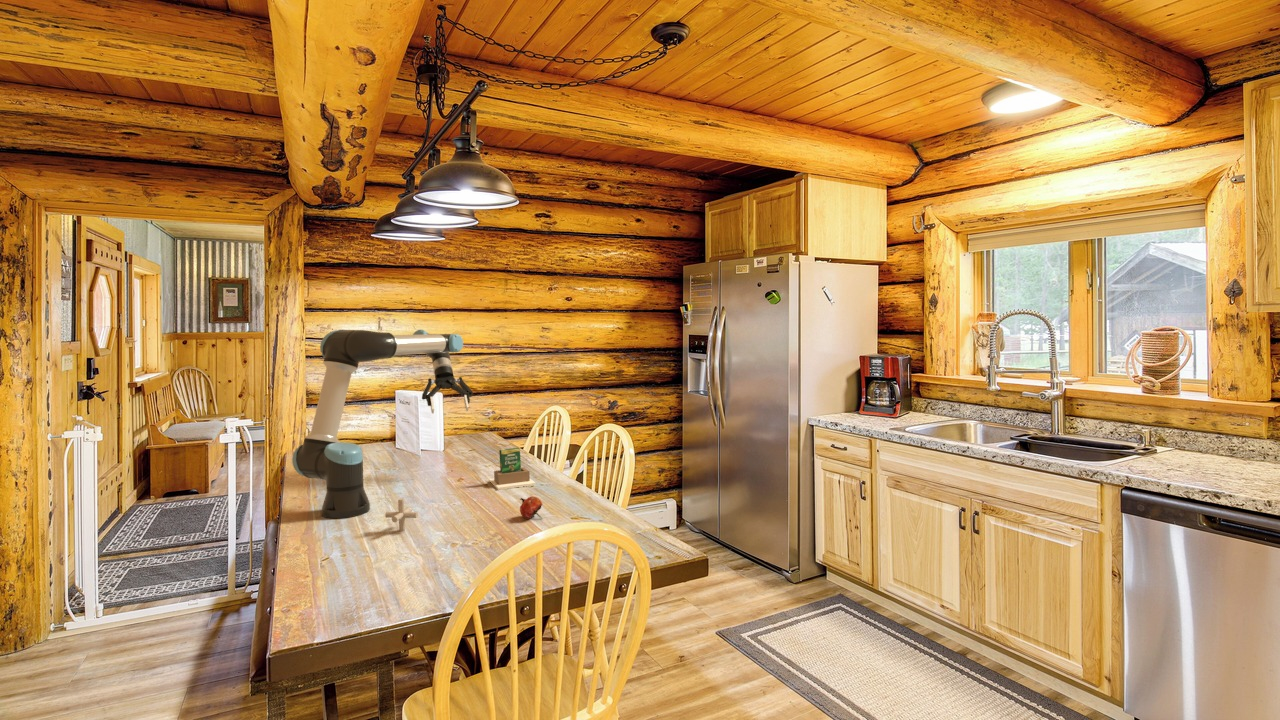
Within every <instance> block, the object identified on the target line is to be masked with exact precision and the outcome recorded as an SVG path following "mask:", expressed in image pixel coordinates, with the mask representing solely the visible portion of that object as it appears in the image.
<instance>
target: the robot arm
mask: <svg viewBox="0 0 1280 720" xmlns="http://www.w3.org/2000/svg"><path fill="white" fill-rule="evenodd" d="M319 347H320V348H319V350H320V353H321V356H322V357H323V362H322V363H323V365H324V366H325V368H326V369H325V373H324V377H323V381H322V385H321V389H320V394H319V397H318V402H317V407H316V409H315V415H314V418H313V422H312V427H311V430H310V433H309V434H308V435H306V436H304V438H303V443H302V444H301V445H299V446H298V447H296V449H295V450H294V452H293V454H292V457H291V458H292V461H291V463H292V467H293V468H294V470H295V472H296V473H297V474H298V475H300V476H302V477H306V478H308V479H318V480H323V481H325V483H326V486H325V487H326V493H325V496H324V500H323V503H322V506H321V516H322V517H324V518H326V519H327V518H328V519H345V518H352V517H357V516H361V515H364V514H365V513H367V512H369V511H370V510H371V503H370V500H369V498H368V496H367V493H366V490H365V488H364V487H365V486H364V456H363V450H362V447H361V446H360V445H359V444H356V443H353V442H340V440H339V439H338V432H339V430H340V424H341V421H342V415H343V411H344V407H345V403H346V399H347V394H348V390H349V387H350V382H351V378H352V374H353V373H354V372H356V371H357V370H358V367H359V363H365V362H372V361H378V360H385V359H391V358H393V357H395V356H403V355H420V354H421V355H423V354H425V355H427V357H429V358H430V359H431V362H432V366H433V367H432V368H433V374H434V377H435V378H434V379H432V378H430V377H429V378H428V381H427V385H426V387H425V389H424V390H423V393H422V395H421V399H422V400H424V401H426V403H427V406H428V407H430V411H431V414H434V413H435V406H434V399H433V398H434V396H435V394H437V393H438V392H440V390H450V389H451V390H452V391H454V392H456V393H458V394H459V395H461V396H462V397H463V403H464V408H465V411H466V412H469V407H470V406H469V404H470V402H471V399H470V398H472V397H473V394H474V392H473V390H472V389H471V388H470V387H469V386H468V385H467V384H466V383H465V382H464V380H463V377H462V376H459V377H458V378H455V377H454V370H453V366H452V359H451V353H459V352H460V351H462V349H463V347H464V340H463V338H462V336H461V335H460V334H458V333H457V334H456V333H443V334H442V333H428V332H427V331H426V330H424V329H417V330H416V331H415V332H413V334H395V335H394V334H392V333H391V332H380V331H373V330H365V329H338V330H332V331H329V332H328V333H327V334H326V335H324V337H323V338H322V340H321V341H320V346H319ZM434 384H435V386H434V387H433V388H432V389H431V387H432V386H433V385H434ZM430 389H431V390H430Z"/></svg>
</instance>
